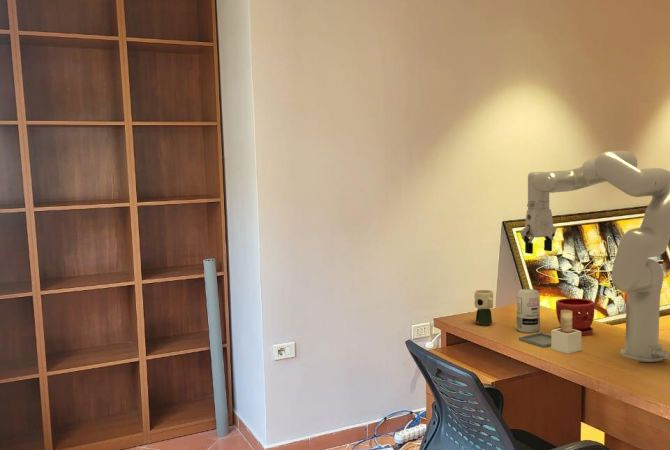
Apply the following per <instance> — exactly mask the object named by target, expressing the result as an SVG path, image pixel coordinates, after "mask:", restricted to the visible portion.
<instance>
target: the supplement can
mask: <svg viewBox="0 0 670 450" xmlns="http://www.w3.org/2000/svg"><path fill="white" fill-rule="evenodd" d="M540 300H541V296H540V293H539V291H538V290H537V289H533V288H522V289H518V292H517V293H516V329H517V330H518V332H520V333H526V334H535V333H539V331H540V330H541V328H540V326H541V324H540V322H541V321H540V320H541V316H540V313H541V312H540V311H541V301H540ZM534 332H535V333H534Z"/></svg>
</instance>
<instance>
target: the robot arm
mask: <svg viewBox="0 0 670 450" xmlns="http://www.w3.org/2000/svg"><path fill="white" fill-rule="evenodd" d="M606 182H607V183H609V184H610V185H611V186H614V188H616V189H618V190H620V191H621V192H623V193H624V194H627V196H631V197H634V198H644V197H652V198H651V200H650V202H649V203H648V204H647V205H648V206H647V207H646V209H645V211H644V215H643V219H642V222H641V224H640V227H636V228H631V229H630V230H627V231H625V233H624V234H623V235H622V236H621V238H620V240H619V244H618V246H617V249H616V250H617V251H616V253H615V256H614V258H615V259H614V261H613V265H612V270H611V281H612V284H613V286H614V287H615V288H616V289H617V290H619V291H620V292H622V293H627V295H626V305H625V306H626V307H625V343H624V344H625V346H624V348H621V349H620V350H619V355H621V356H622V357H623V358H627V359H630V360H635V361H638V362H641V363H655V362H656V363H658V362H661V361H663V360H664V359H666V360H668V358H669V356H670V351H669V350H664V349H663V348H662V347H663V345H662V344H660V342H659V341H660V340H659V338H660V307H661V293H662V288H663V284H664V278H665V277H664V270H663V268H662V266H661V264H660V263H659V262H658V261H657V260H655V259H653V258H655V257H658V256H661V255H663V254H665V252H666V251H667V248H668V246H669V242H670V170H667V169H665V168H661V167H650V168H649V167H648V168H638V159H637V157H636V155H634V154H633V153H632V152H631V151H628V150H609V151H608V150H607V151H604V152H602V153H600V154H599V155H597V157H594V158H591V159H587V160H586V161H584V162H583V164H582V166H580V167H575V168H573V169H568V170H555V171H554V170H553V171H534V172H533V171H532V172H529V173H528V175H527V204H526V206H527V210H526V216H525V221H524V222H525V225H524V226H525V227H524V228H522V229H521V230H520V232H519V233H520V235H521V239H522V240H523V243H524V252H525V254H528V255H529V254H530V255H531V254H534V247H533V246H534V243H533V242H532V241H533V240H534V238H544V239H543V240H544V241H543V245H544V246H543V250H544V251H545V252H552V251H553V241H554V237H555V235H556V232H557V227H556V226H554V220H553V214H552V213H553V212H552V209H551V208H550V194H553V193H554V194H555V193H564V192H566V193H567V192H573V191H577V190H581V189H584V188H588V187H589V188H590V187H591V186H592V187H593V186H595V185H598V184H603V183H606Z"/></svg>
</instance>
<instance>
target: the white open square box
mask: <svg viewBox="0 0 670 450" xmlns="http://www.w3.org/2000/svg"><path fill="white" fill-rule="evenodd" d="M550 330H551V331H550V332H551V334H550V335H551V346H550V349H551V350H553V351H556V352H560V353H563V354H567V355H569V354H572V353H577V352H581V351H582V336H581V331H578V330H574V329H572V333H569V334H566V333H563V332H561V328H559V327H558V328H555V329H550Z"/></svg>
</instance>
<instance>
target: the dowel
mask: <svg viewBox="0 0 670 450" xmlns="http://www.w3.org/2000/svg"><path fill="white" fill-rule="evenodd" d="M560 326H561V332H563V333H566V334H569V333H572V311H571V310H561V325H560Z"/></svg>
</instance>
